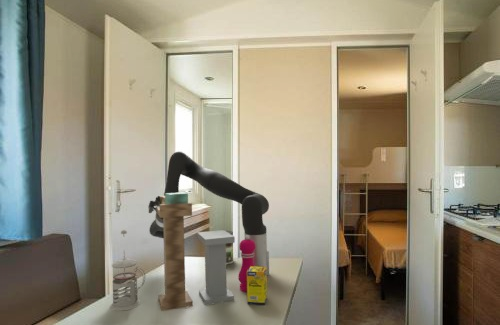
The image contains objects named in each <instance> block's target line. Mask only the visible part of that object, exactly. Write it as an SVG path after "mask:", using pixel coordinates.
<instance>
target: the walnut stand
mask: <svg viewBox="0 0 500 325" xmlns="http://www.w3.org/2000/svg"><path fill="white" fill-rule="evenodd" d="M192 204H193V203H192V202H188V203H178V204H161V205H160V207H156V206H155V208H156V211H155V213H156V212H157V214H158V215H159V217H160V218H163V228H164V239H163V260H164V261H163V264H164V265H163V266H164V270H163V271H164V294H159V295H158V302H159V303H158V304H159V306H160V310H161V311H169V309H170V310H175V309H180V308H181V309H182V308H187V307H188V308H189V307H193V304H194V301H193V299H192V298H191V295H190V293H189V291H188V290H186V267H185V266H186V265H185V263H186V262H185V220H184V219H185V217H190V216H193V205H192Z"/></svg>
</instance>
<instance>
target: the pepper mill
mask: <svg viewBox="0 0 500 325" xmlns="http://www.w3.org/2000/svg"><path fill="white" fill-rule="evenodd" d="M249 238H250V237H249V235H246V236H245V235H244V239H242V240H241V241H240V242H239V245H238V248H239V250H240V251H241V252H240V257H241V259H242V260H241V262H242V263H241V267H240V270H239V272H238V277H237V278H238V281H239V282H240V284H239V290H240V291H241V292H243V293H247V271H248V269H249V268H250V267H251V266H254V263H253V257H254V252H253V251H254V250H255V247H256V246H255V243H254V241H253V240H251V239H249Z"/></svg>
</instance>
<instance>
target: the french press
mask: <svg viewBox="0 0 500 325" xmlns="http://www.w3.org/2000/svg"><path fill="white" fill-rule="evenodd" d="M120 234H121V235H123V236H125V235H126V234H128V232H127V230H125V229H122V230H121V231H120ZM125 254H126V253H125V251H123V258H120V259H119V260H116V261H114V262H113V263H111V267H112V268H113V269H123V272H119V273H116V274H115V275H113V280H112V302H111V304H110V306H109V309H111V310H112V311H126V310H130V309H134V308H136V307H138V306H139V305H141V301H140V300H139V298H138V294H139V293H138V290H140V289H141V288H142V287H143V286H144V284H145V282H146V273H145V271H144V269H142V267H139V266H136V265H137V263H138V261H137V260H135V259H132V258H129V257H128V258H126V257H125V256H126V255H125ZM134 266H136V267H135V268H134V272H133V271H132V272H131V271H129V272H128V271H127V272H126V268H132V267H134ZM137 271H138V272H140V273H141V276H142V283H141V285H140V286H139V287H138V278H137V277H136V276H137V274H136V273H137ZM127 281H128V282H127ZM121 288H122V289H121Z"/></svg>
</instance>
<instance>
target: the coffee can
mask: <svg viewBox="0 0 500 325" xmlns="http://www.w3.org/2000/svg"><path fill="white" fill-rule="evenodd" d="M225 231H226V232H228V233H229V234H231V235H233V233H234V232H233V231H232V230H225ZM233 236H234V235H233ZM233 263H234V243H226V266H227V265H230V264H233Z"/></svg>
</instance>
